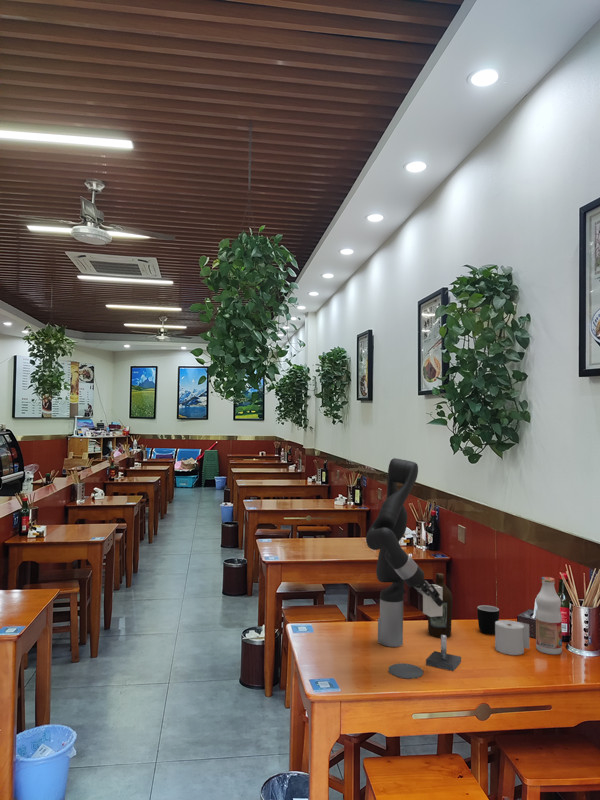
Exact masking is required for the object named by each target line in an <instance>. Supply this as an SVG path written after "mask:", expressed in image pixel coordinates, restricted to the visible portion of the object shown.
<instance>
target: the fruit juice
mask: <svg viewBox="0 0 600 800" xmlns="http://www.w3.org/2000/svg"><path fill="white" fill-rule="evenodd" d="M555 583H556V579H555V578H553V577H550V576H542V577H541V584H542V585H541V587H540V591H539V592H538V594H537V595H536V598H535V602H536V606H537V608H536V610H535V646H536V647H535V648H536V650H538V652H539V653H540V652H541V653H543V654H547V655H560V654H562V652H563V629H562V628H563V624H562V623H563V622H562V621H563V619H562V617H563V616H562V612H561V606H562V600H561V598H560V596H559V595H558V593H557V591H556V589H555V588H556V587H555Z"/></svg>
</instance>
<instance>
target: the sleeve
mask: <svg viewBox="0 0 600 800" xmlns="http://www.w3.org/2000/svg"><path fill="white" fill-rule="evenodd" d="M432 585H433V586H434V588H435V589H436V590H437V592H438V593H439V594H440V596H439V598H440V599H441V600H442V601H443V588H442V587H440V586H437V585H435V583H434V584H433V583H432ZM426 593H428V592H426ZM422 614H424V615H426V616H427V617H428V616H430V617H436V616H443V604H442V605H441V607H440V606H438V605H437V604H436V603H435V602H434V600H432V599H431V598H430V597H429V596H426V595H425V594H424V593H423V595H422Z"/></svg>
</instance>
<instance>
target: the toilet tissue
mask: <svg viewBox="0 0 600 800" xmlns="http://www.w3.org/2000/svg"><path fill="white" fill-rule="evenodd" d="M494 635H495V637H494V640H495V641H494V646H495V647H494V649H495V650H496V651H497V652H499V653H501V654H505V655H509V656H521V655H523V654H525V649H528V650H529V649H530V624H529V623H525V622H521V621H514V620H508V619H506V620H505V619H504V620H503V619H501V620H500V619H499V621H496V622H495V634H494Z"/></svg>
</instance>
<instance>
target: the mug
mask: <svg viewBox="0 0 600 800" xmlns="http://www.w3.org/2000/svg"><path fill="white" fill-rule="evenodd" d="M476 611H477V612H476V613H477V623H478V628H479V631H480V633H481V634H484V635H488V634H490V635H492V634H494V635H495V622H496V621H499V620H500V609H499V608H498V607H496V606H493V605H485V604H484V605H478V606H477V610H476ZM490 635H489V636H490ZM492 636H493V635H492Z"/></svg>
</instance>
